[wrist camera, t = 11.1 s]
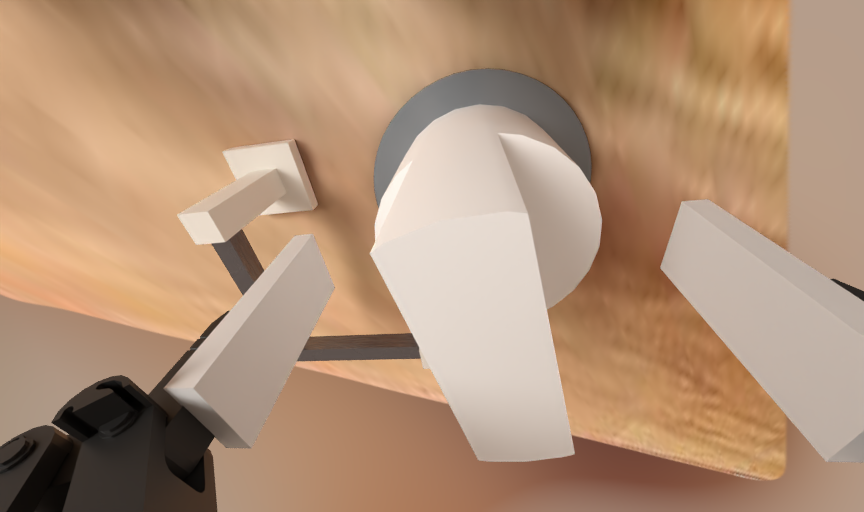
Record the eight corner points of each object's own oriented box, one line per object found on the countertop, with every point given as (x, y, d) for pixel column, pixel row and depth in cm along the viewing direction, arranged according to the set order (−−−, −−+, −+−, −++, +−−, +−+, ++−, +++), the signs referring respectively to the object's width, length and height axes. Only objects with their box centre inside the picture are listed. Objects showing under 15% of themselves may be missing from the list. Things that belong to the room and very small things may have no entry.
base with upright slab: (373, 138, 17) (238, 274, 7) (549, 75, 14) (741, 140, 4) (429, 270, 21) (398, 469, 11) (569, 238, 19) (687, 451, 9)
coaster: (351, 88, 16) (348, 89, 15) (603, 48, 14) (608, 48, 14) (398, 276, 22) (397, 281, 22) (575, 265, 21) (578, 270, 20)
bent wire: (214, 214, 15) (199, 224, 14) (408, 194, 13) (405, 204, 13) (291, 348, 20) (283, 361, 19) (437, 344, 19) (436, 358, 18)
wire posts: (218, 184, 20) (124, 236, 14) (245, 105, 17) (142, 132, 11) (448, 324, 25) (443, 402, 19) (498, 281, 22) (509, 358, 16)
